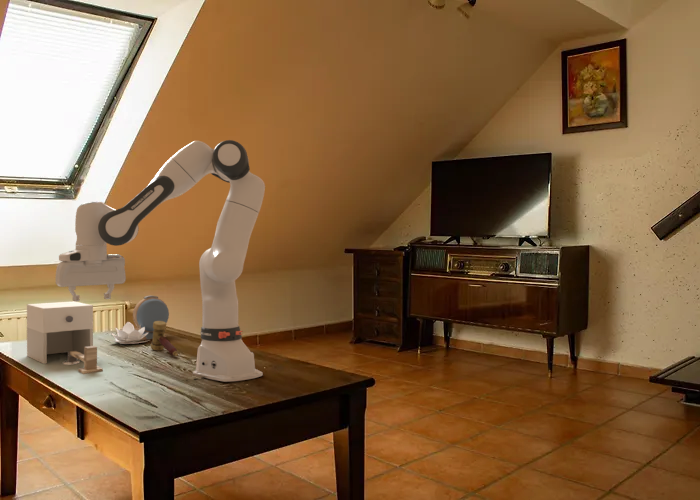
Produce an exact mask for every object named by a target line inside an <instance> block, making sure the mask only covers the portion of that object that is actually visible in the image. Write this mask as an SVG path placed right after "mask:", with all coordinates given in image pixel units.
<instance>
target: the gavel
mask: <svg viewBox="0 0 700 500" xmlns="http://www.w3.org/2000/svg"><path fill="white" fill-rule="evenodd" d="M153 328H154V330H153V339H151V340H152V341H151V343H150V349H151V350H153V351H156V352H157V351H162V350H164V349H165V350H166V351H167V352H168V353H169V354H170V355H171V356H174V357H178V355H179V354H178V353H179V352H178V349H177V348H176V347H175V346H174V345H173V344H172V343H171V342H170V341H169V340H168V338H167V337H164V335H165V330H166V328H167V323H166V322H164V321H155V322H154V323H153Z"/></svg>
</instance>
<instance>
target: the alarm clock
mask: <svg viewBox="0 0 700 500" xmlns="http://www.w3.org/2000/svg"><path fill="white" fill-rule="evenodd" d="M169 316H170V312H169V308H168V306H167V304H166V303H165V301H164V300H163V299H161V298H159V296H157V295H146V296H144V297H143V299H141V300H139V301H138V302H137V304H136V305H135V306H134V309H133V311H132V321H133V323H134V325H135V327H136V328H137V329H139V328H140V329H141V328H143V327H145V331H144V333H143V334H142V335H144V334H146V333H148V334H147V335H146V336H145V337H143V338H142V339H140V341H144V340H153V330H154V328H153V323H154V322H155V321H164V322H166V324H167V323H168V320H169V318H170V317H169ZM140 325H141V326H140ZM140 329H139V330H140ZM164 337H165V338H167V337H168V336H167V335H166V334H164Z"/></svg>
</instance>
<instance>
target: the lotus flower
mask: <svg viewBox="0 0 700 500" xmlns="http://www.w3.org/2000/svg"><path fill="white" fill-rule="evenodd" d="M140 326H141V325H140ZM115 331H116V333H117V335H116V334H115V333H111V335H112V336H113V338H114V340H111V339H109V341H110V342H114V343H119V345H129V344H130V345H131V344H132V345H133V344H139V343H146V342H148V341H151V339H147V340H145V341H144V340H142V341H141V339H142V338H143V337H145V336H146V335H147V334H148V333H146V334H144V335H142V334H143V333H144V331H145V327H143V328H141V329H140V328H138V330H137V329H135V326H134V324H133V323H131V322H130V321H126V323H125V324H124V325H123V327H122V329H118V328H117V327H115Z"/></svg>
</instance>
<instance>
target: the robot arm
mask: <svg viewBox="0 0 700 500" xmlns="http://www.w3.org/2000/svg"><path fill="white" fill-rule="evenodd" d="M249 161H250V160H249V156H248V152H247V150H246V148H245V147H244V146H243V144H241V143H240V142H238V141H235V140H233V139H228V140H223V141H220V143H218V144H216V146H215V147H214V148H212V147H211V146H210V145H208V144H207V143H206V142H204V141H202V140H201V141H200V140H194V141H192V142H190V143H188V144H187V145H185V146H184V147H182V148H181V149H179V150H178V151H177V152H176V153H175V154H173V155H172V156H171V157H170V158H168V160H167V161H165V163H164V164H163V165H162V166H161V168H159V170H158V171H157V172H156V174H155V175H154V177H153V178H152V179H151V180H150V182H149V183H148V185H147V186H146V187H145V188H143V190H142V191H140V192H139V193H138V194H137V195H135V197H133V198H132V199H131V200H130V201H128V202H127V203H126V204H124V206H122V207H119V208H117V209H115V208H112V207H111V206H109V205H107V204H106V203H104V202H103V201H90V202H84V203H82V204H80V205H79V206H78V207H77V209H76V212H75V220H74V221H75V225H74V226H75V229H74V230H75V231H74V233H76V242H75V249H73V250H69V251H67V252H63V253H60V254H59V255H58V260H59V263H57V266H56V271H55V284H56V285H57V287H60V288H65V287H68V288H67V289H68V291H69V294H71V296H72V301H75V302H80V299H81V297H80V295H79V294H76V292H75V290H76V289H77V288H76V287H81V286H82V287H84V286H100V285H101V286H102V285H105V286H106V285H107V288H108V289H107V290H106V292H104V293H103V299H104V300H111V299H112V298H111V297H112V295H111V294H112V292H113V291H114V290H115V285H122V284H125V282H126V280H127V277H126V269H125V266H126V259H125V257H124V256H123V255H121V254H117V253H116V254H107V253H108V251H107V249H108V248H107V247H108V246H107V244H108V245H111V246H123V245H126V244H128V243H130V242H133V240H135V238H136V237H137V236H138V234H139V229H140V228H139V224H140V223H141V222H142V221H143V220H145V218H146V217H147V216H148V215H150V214H151V212H153V211H154V210H155V209H156V208H157V207H159V205H161V204H163V203H164V202H166V201H168V200H171V199H172V200H173V199H175V198H178V197H180V196H182V195H184V194H186V192H188V191H190V189H192V188H193V187H195V185H197V184H198V183H199V182H200V181H201V180H202V179H203V178H205V176H207V175H209V174H211V175H212V176H214V177H216V178H218V179H219V180H222V182H225V183H229V185H230V187H229V191H228V194H227V197H226V199H225V202H224V204H223V207H222V210H221V213H220V215H219V218H218V219H217V222H216V228H215V232H214V237H213V240H212V244H211V246H210V248H207V249H206V250H205V251H204V252H203V253H202V254H201V256H200V258H199V263H198V265H199V281H200V293H201V301H202V306H201V309H202V311H201V312H202V318H201V319H202V326H201V327H200V338H201V343H200V345H199V346H198V347H197V355H196V365H195V370H194V371H192V374H193V375H197V376H201V377H202V378H203V379H204V378H205V379H209V380H213V381H220V382H225V383H228V382H239V381H245V380H251V379H256V378H259V377H262V376H264V375H263V372H264V371H263V372H262V371H260V370H258V368H257V369H256V365H255V363H256V362H255V353H254V352H253V351H251V350H250V349H249V347H248V346H247V345H246V344H245V343H244V342H243V340H242V339H243V332H244V331H243V330H241V328H240V325H239V298H238V294H237V293H238V292H237V287H236V280H237V279H238V278H239V277H240V276H241V275H242V273H243V271H244V265H245V260H246V257H247V252H248V247H249V243H250V239H251V236H252V232H253V230H254V227H255V224H256V221H257V219H258V217H259V213H260V211H261V208H262V205H263V201H264V198H265V197H264V196H265V192H266V191H265V189H266V184H265V182H264V180H263V179H262V178H261V177H260V176H258V175H256V174H254V173H252V172H251V171H250V162H249Z"/></svg>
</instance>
